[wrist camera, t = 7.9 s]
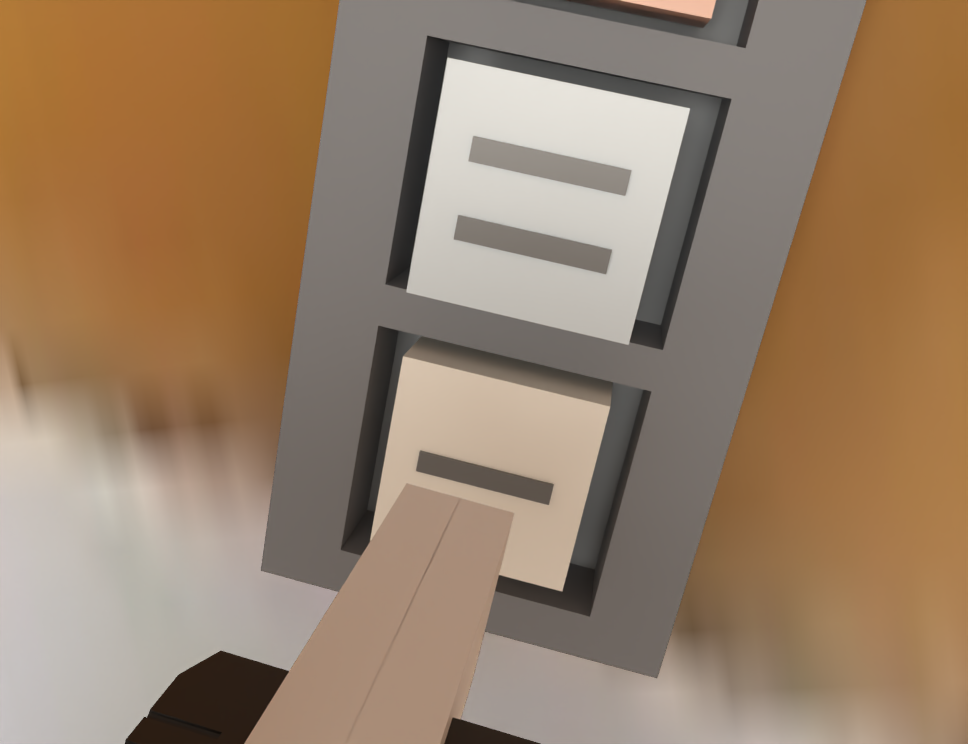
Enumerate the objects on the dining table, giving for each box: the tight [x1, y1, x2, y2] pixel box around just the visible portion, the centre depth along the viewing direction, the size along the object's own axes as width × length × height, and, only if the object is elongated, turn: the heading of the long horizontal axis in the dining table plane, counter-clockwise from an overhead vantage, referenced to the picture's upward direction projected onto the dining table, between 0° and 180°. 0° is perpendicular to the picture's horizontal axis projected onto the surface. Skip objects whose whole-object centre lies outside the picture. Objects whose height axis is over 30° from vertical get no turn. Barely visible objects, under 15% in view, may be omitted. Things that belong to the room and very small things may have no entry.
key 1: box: [370, 336, 613, 591], centre depth 22 cm, size 5×5×3 cm
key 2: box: [406, 58, 690, 345], centre depth 20 cm, size 5×5×3 cm
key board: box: [261, 0, 866, 678], centre depth 22 cm, size 11×22×4 cm, turn 169°
